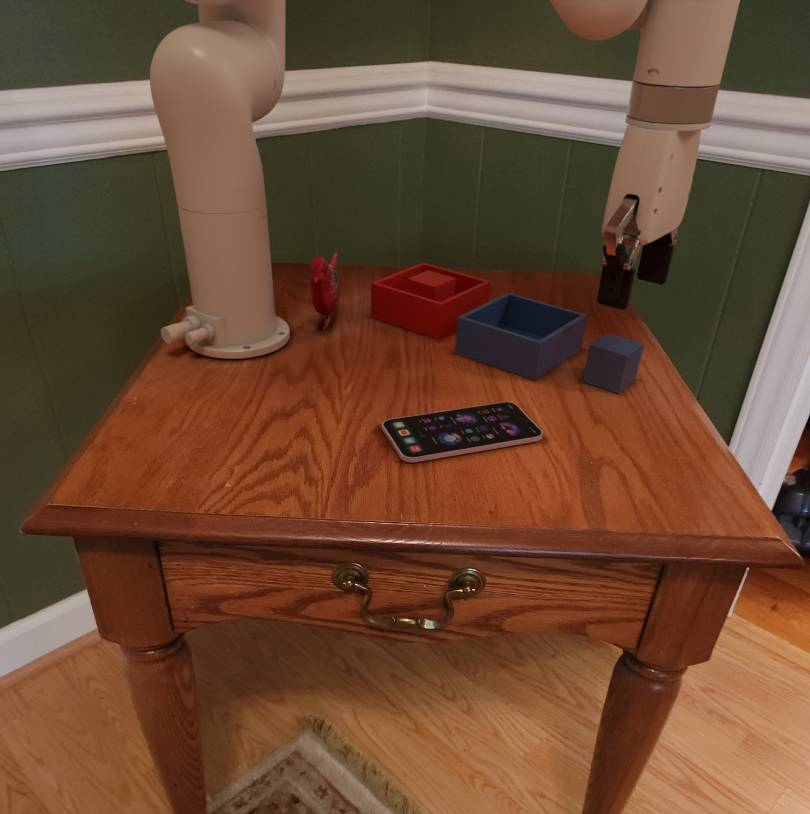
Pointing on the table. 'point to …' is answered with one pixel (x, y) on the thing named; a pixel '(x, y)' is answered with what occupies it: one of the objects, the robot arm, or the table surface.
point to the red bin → (426, 301)
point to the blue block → (612, 362)
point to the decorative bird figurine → (324, 286)
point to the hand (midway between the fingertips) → (632, 293)
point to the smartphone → (460, 431)
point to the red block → (432, 285)
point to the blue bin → (520, 335)
